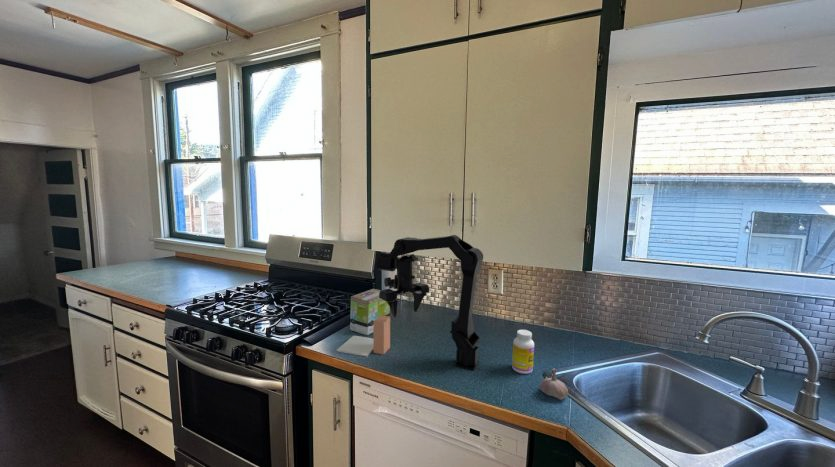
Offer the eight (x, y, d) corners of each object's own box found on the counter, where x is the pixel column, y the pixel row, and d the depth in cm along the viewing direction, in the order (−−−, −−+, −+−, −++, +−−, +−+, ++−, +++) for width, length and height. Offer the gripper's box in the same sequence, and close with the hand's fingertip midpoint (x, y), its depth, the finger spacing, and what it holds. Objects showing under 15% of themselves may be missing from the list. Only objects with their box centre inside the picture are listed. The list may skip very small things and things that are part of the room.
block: (390, 347, 129) (390, 316, 127) (383, 354, 123) (383, 322, 121) (380, 345, 130) (380, 315, 128) (373, 352, 124) (373, 320, 123)
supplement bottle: (529, 376, 110) (532, 338, 108) (509, 370, 113) (511, 333, 112) (534, 367, 115) (537, 331, 114) (515, 362, 119) (517, 326, 117)
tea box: (368, 336, 138) (368, 300, 136) (349, 330, 143) (349, 296, 141) (390, 324, 151) (390, 291, 149) (372, 319, 156) (372, 287, 154)
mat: (381, 341, 133) (381, 339, 133) (366, 356, 121) (366, 355, 121) (353, 336, 137) (353, 335, 137) (336, 351, 125) (336, 349, 125)
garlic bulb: (534, 389, 103) (536, 364, 102) (555, 385, 105) (556, 361, 104) (551, 404, 96) (553, 377, 95) (573, 400, 98) (575, 373, 97)
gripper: (412, 265, 136) (412, 303, 138) (370, 272, 125) (371, 313, 127) (430, 270, 127) (430, 311, 129) (387, 278, 116) (387, 322, 118)
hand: (405, 314), depth 126 cm, fingers open, 9 cm apart
